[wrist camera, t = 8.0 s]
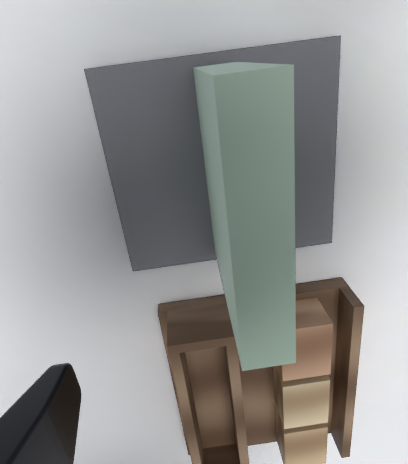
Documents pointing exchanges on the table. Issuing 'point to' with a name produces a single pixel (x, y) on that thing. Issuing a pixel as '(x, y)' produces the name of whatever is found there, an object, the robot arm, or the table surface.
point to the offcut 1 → (310, 342)
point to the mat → (191, 150)
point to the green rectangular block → (252, 201)
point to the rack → (250, 374)
